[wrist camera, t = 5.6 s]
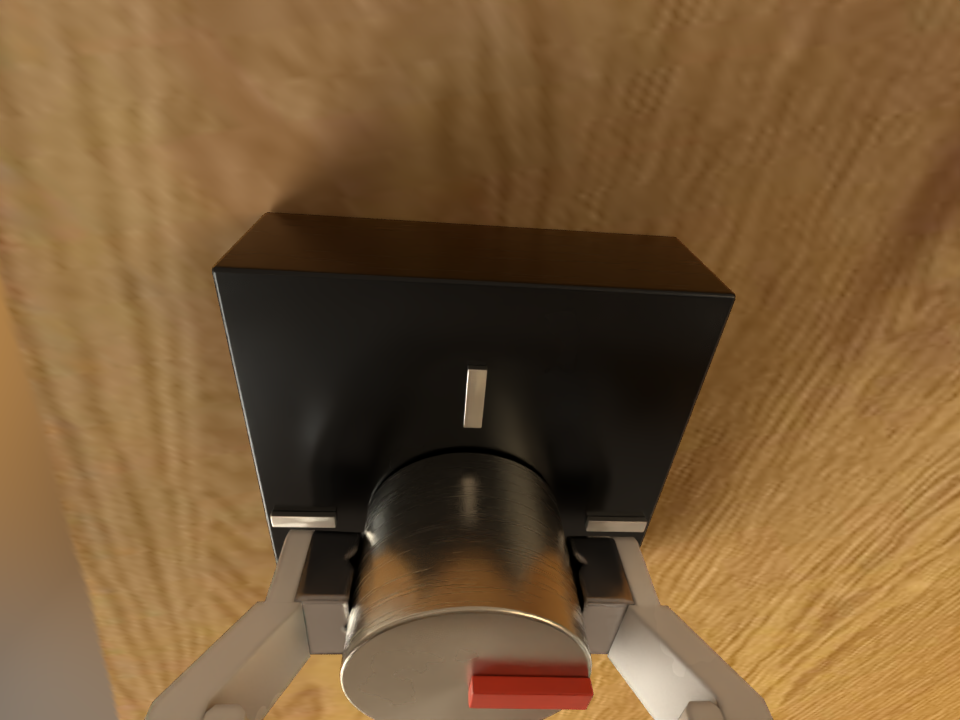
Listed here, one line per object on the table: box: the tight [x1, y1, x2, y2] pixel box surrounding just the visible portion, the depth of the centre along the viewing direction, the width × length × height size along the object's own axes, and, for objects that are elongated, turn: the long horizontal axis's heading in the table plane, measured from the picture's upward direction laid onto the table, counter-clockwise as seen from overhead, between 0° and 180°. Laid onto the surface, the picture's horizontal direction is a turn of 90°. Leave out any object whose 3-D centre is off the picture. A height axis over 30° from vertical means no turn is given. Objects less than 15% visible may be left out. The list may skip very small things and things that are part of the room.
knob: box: [340, 452, 593, 720], centre depth 10 cm, size 4×4×4 cm
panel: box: [212, 212, 735, 654], centre depth 13 cm, size 12×9×3 cm
